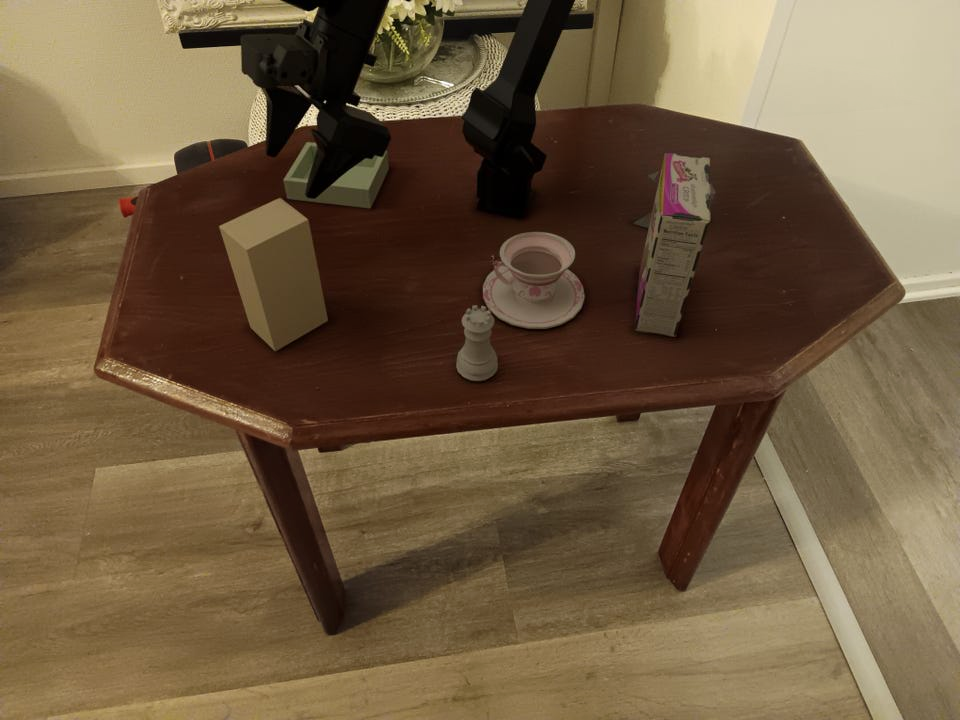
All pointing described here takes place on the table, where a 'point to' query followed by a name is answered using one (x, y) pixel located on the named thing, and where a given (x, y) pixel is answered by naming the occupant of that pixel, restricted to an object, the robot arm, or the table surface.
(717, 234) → the table surface
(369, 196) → the socket
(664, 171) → the candy bar box
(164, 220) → the table surface
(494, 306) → the teacup
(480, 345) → the rook chess piece
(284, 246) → the tan rectangular block
